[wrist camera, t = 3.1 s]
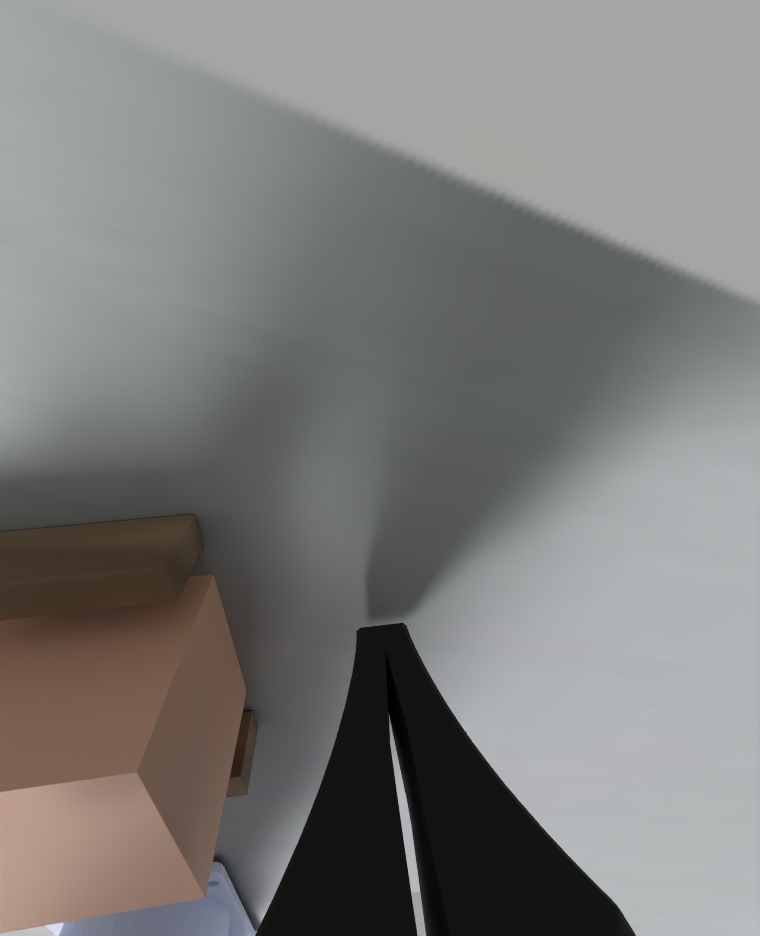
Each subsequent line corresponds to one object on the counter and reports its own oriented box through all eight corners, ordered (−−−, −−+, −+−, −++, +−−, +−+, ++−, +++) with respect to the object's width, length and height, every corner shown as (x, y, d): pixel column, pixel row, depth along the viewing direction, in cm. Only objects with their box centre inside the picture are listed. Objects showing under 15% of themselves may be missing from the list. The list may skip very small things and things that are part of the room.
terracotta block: (247, 688, 13) (205, 897, 9) (89, 708, 13) (-38, 939, 8) (214, 572, 11) (137, 772, 7) (23, 591, 11) (-199, 820, 6)
